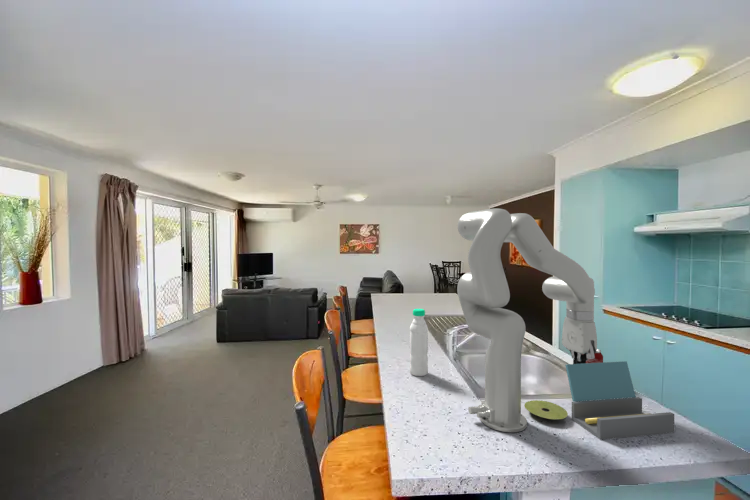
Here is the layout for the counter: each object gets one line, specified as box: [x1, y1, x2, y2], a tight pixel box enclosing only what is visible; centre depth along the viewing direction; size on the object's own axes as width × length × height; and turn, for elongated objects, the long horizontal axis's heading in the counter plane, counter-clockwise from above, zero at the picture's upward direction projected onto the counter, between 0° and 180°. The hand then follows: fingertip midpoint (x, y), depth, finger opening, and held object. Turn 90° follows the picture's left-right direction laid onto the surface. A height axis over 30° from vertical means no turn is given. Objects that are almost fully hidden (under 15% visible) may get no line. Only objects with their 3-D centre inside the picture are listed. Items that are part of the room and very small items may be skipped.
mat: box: [523, 399, 569, 420], centre depth 96 cm, size 11×11×2 cm
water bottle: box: [409, 308, 429, 377], centre depth 127 cm, size 7×7×25 cm
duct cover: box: [565, 361, 637, 402], centre depth 97 cm, size 20×10×1 cm
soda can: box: [582, 348, 604, 363], centre depth 119 cm, size 7×7×12 cm
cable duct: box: [571, 396, 675, 441], centre depth 90 cm, size 22×10×5 cm, turn 98°
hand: (579, 372), depth 105 cm, fingers closed
